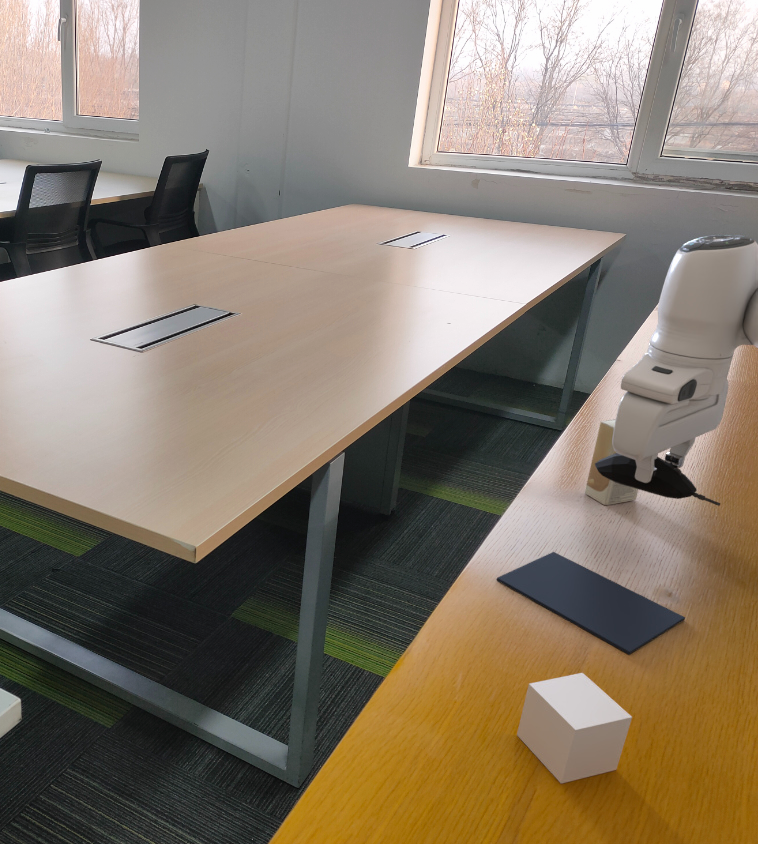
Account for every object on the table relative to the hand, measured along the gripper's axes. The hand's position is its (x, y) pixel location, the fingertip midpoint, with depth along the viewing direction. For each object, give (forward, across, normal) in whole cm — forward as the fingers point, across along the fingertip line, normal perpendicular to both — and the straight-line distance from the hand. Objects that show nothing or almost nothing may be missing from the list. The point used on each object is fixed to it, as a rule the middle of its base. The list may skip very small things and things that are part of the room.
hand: (658, 473), depth 103 cm
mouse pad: (+12, +16, +3) cm, 20 cm away
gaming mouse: (+2, 0, 0) cm, 2 cm away
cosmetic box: (+12, -13, -11) cm, 21 cm away
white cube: (+11, +41, +16) cm, 45 cm away
